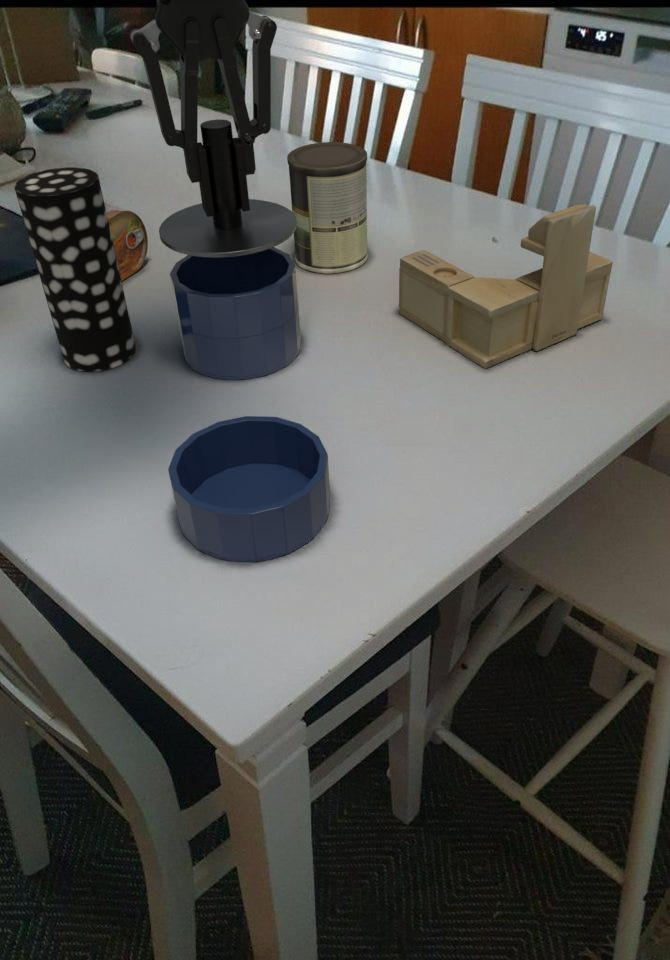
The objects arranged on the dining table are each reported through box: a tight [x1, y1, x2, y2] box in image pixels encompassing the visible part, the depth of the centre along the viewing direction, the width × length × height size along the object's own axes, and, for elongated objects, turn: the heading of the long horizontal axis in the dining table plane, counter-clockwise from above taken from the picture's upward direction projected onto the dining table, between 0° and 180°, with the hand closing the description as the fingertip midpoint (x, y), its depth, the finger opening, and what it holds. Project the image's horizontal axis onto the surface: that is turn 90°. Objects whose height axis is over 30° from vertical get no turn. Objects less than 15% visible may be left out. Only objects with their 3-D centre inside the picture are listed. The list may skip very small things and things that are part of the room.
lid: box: [158, 118, 297, 258], centre depth 82 cm, size 14×14×11 cm
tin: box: [106, 209, 149, 283], centre depth 107 cm, size 15×3×8 cm, turn 153°
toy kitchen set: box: [398, 203, 614, 369], centre depth 93 cm, size 18×17×15 cm
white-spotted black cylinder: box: [13, 166, 137, 373], centre depth 88 cm, size 8×8×20 cm
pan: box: [167, 415, 331, 563], centre depth 71 cm, size 13×13×5 cm
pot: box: [169, 246, 302, 381], centre depth 91 cm, size 13×13×10 cm
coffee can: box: [286, 141, 369, 275], centre depth 108 cm, size 10×10×14 cm
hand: (226, 208), depth 84 cm, fingers closed on lid, 3 cm apart
